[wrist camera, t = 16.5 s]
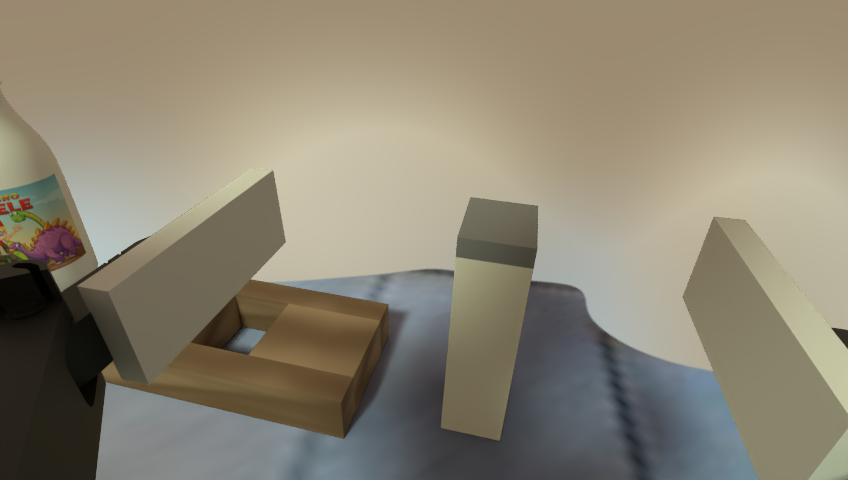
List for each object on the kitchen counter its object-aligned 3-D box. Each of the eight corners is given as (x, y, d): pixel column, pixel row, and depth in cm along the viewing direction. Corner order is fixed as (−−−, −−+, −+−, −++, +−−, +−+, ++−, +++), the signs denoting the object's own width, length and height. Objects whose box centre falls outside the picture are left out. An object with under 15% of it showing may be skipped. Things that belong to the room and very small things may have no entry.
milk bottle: (11, 267, 44) (-100, 49, 34) (104, 251, 47) (26, 47, 37) (-12, 314, 38) (-155, 67, 28) (95, 293, 42) (0, 63, 31)
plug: (499, 440, 30) (537, 248, 22) (440, 427, 31) (457, 237, 23) (504, 383, 34) (538, 206, 27) (452, 373, 35) (470, 197, 27)
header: (343, 438, 30) (340, 402, 28) (87, 377, 33) (70, 341, 31) (388, 336, 38) (388, 304, 36) (179, 296, 42) (170, 265, 40)
